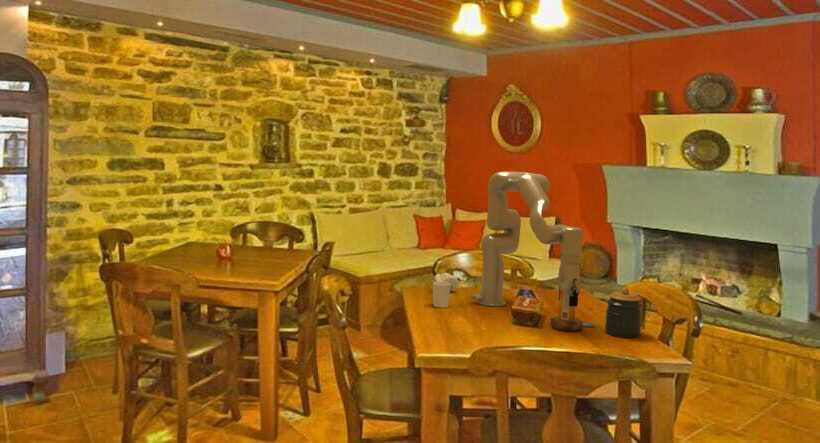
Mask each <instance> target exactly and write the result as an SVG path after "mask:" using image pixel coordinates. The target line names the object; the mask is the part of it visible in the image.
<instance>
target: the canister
mask: <svg viewBox="0 0 820 443" xmlns="http://www.w3.org/2000/svg"><path fill="white" fill-rule="evenodd" d="M641 299H642V297H640V296H639V295H637V294H636V293H634V292H630V290H629V288H628V287H623V288H621V291H614V292H612V293H610V294H609V299H607V300H606V303H607V308H605V322H604V323H605V324H604V331H605V333H606V334H608V335H610V336H613V337H619V338H624V339H625V338H626V339H628V338H629V339H632V338H633V339H634V337H635V338H639V337H640V336H641V332H642V327H641V326H642V316H643V312H642V308H643V306H644V305H643V302H641Z"/></svg>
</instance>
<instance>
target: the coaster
mask: <svg viewBox="0 0 820 443" xmlns="http://www.w3.org/2000/svg"><path fill="white" fill-rule="evenodd" d="M582 321H583V327H582V328H594V327H596V323H595V322H591V321H586V320H585V321H584V320H582Z"/></svg>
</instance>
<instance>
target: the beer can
mask: <svg viewBox="0 0 820 443" xmlns="http://www.w3.org/2000/svg"><path fill="white" fill-rule="evenodd" d="M559 287H560V300H558V301H559V303H558V316H557V317H559V319H560V320H561V321H565V322H572V321H573V320H574V319H575V318H576V306H569V298H570V296H571V294H570V290H565V289H564V288H563V285H562V284H561V286H559ZM573 292H574V291H573Z"/></svg>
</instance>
